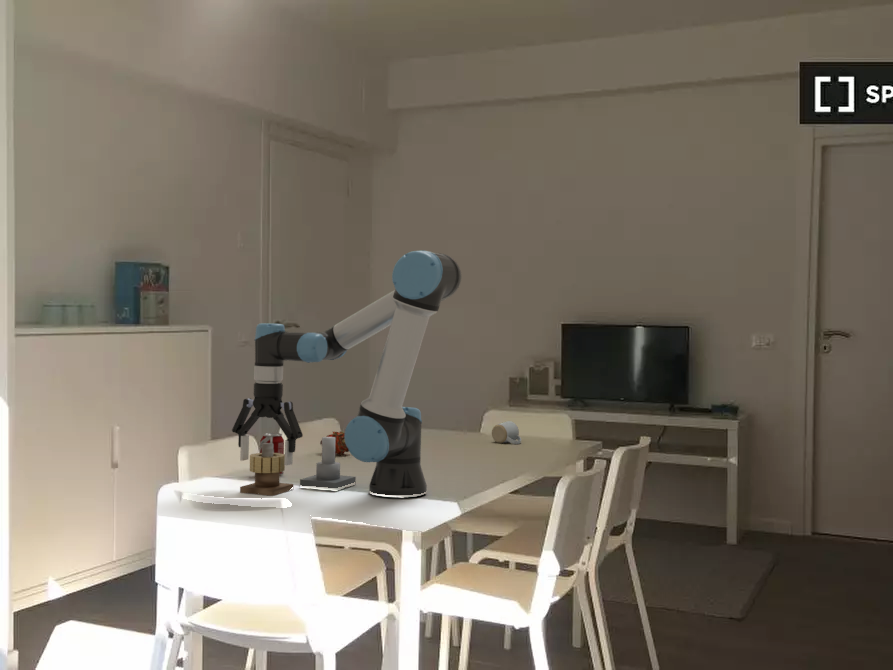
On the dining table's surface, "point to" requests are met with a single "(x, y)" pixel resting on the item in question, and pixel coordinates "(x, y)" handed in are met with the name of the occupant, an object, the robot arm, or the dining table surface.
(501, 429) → the ceramic mug
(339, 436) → the dragon fruit
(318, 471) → the hub
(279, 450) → the soda can
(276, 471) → the collar
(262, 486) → the stand
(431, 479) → the dining table surface
